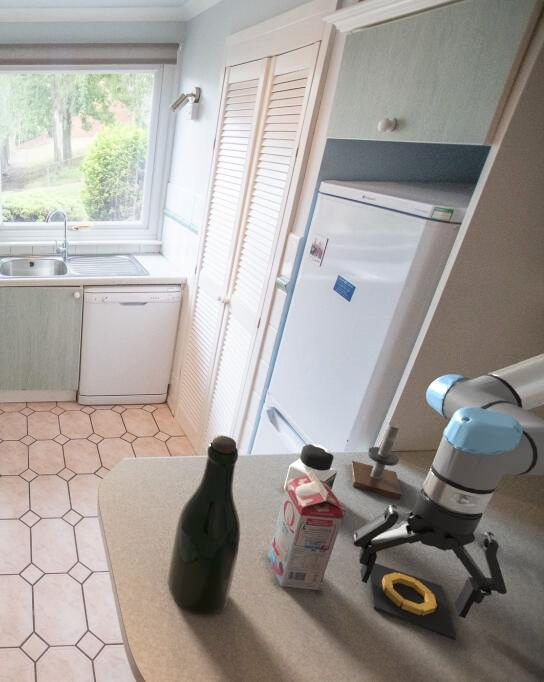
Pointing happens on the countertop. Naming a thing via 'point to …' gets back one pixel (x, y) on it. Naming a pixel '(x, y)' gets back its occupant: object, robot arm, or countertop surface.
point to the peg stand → (379, 468)
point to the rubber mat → (432, 621)
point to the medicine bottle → (313, 464)
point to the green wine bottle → (207, 536)
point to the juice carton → (305, 532)
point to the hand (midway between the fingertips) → (409, 593)
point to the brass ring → (405, 604)
